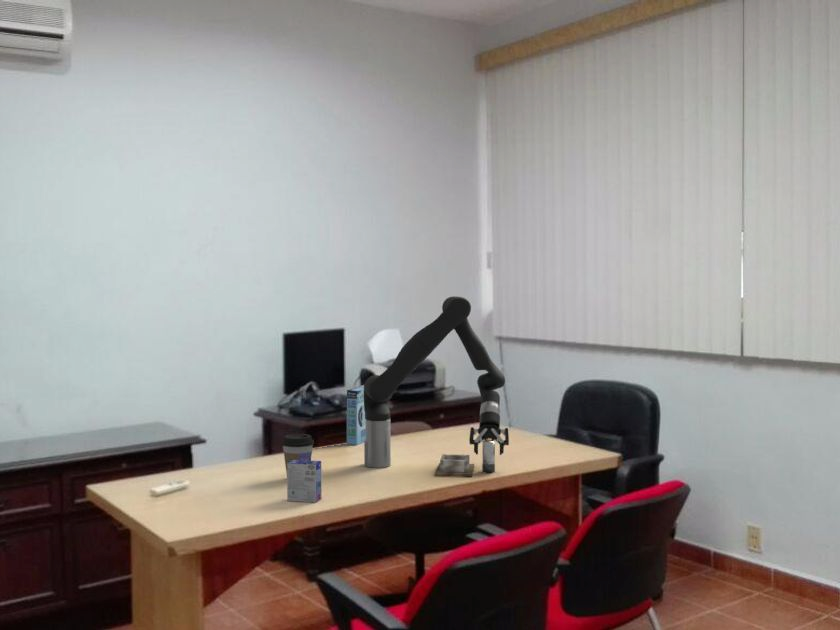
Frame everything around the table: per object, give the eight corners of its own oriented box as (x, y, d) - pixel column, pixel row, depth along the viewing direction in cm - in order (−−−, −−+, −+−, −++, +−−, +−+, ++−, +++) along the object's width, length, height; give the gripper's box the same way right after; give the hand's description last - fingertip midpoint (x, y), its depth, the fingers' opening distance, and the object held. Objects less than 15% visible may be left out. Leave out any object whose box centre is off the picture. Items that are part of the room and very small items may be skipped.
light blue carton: (364, 436, 374) (364, 384, 373) (375, 436, 373) (374, 384, 372) (346, 444, 356) (345, 389, 355) (357, 445, 354) (357, 390, 353)
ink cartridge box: (322, 498, 272) (322, 453, 271) (316, 503, 266) (316, 457, 266) (292, 496, 274) (292, 451, 273) (286, 501, 268) (286, 455, 268)
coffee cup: (305, 484, 290) (304, 440, 289) (275, 481, 294) (274, 438, 293) (320, 476, 300) (320, 434, 300) (291, 474, 304) (291, 432, 303)
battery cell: (482, 472, 306) (482, 440, 306) (482, 470, 311) (482, 437, 310) (494, 473, 306) (494, 440, 305) (495, 470, 310) (495, 437, 310)
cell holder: (434, 476, 301) (434, 461, 301) (439, 465, 317) (439, 452, 317) (471, 477, 300) (471, 462, 300) (474, 466, 316) (474, 453, 316)
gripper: (470, 410, 317) (468, 447, 306) (509, 410, 315) (508, 448, 304) (471, 421, 322) (469, 458, 311) (509, 422, 320) (508, 459, 310)
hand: (488, 453), depth 308 cm, fingers open, 8 cm apart
